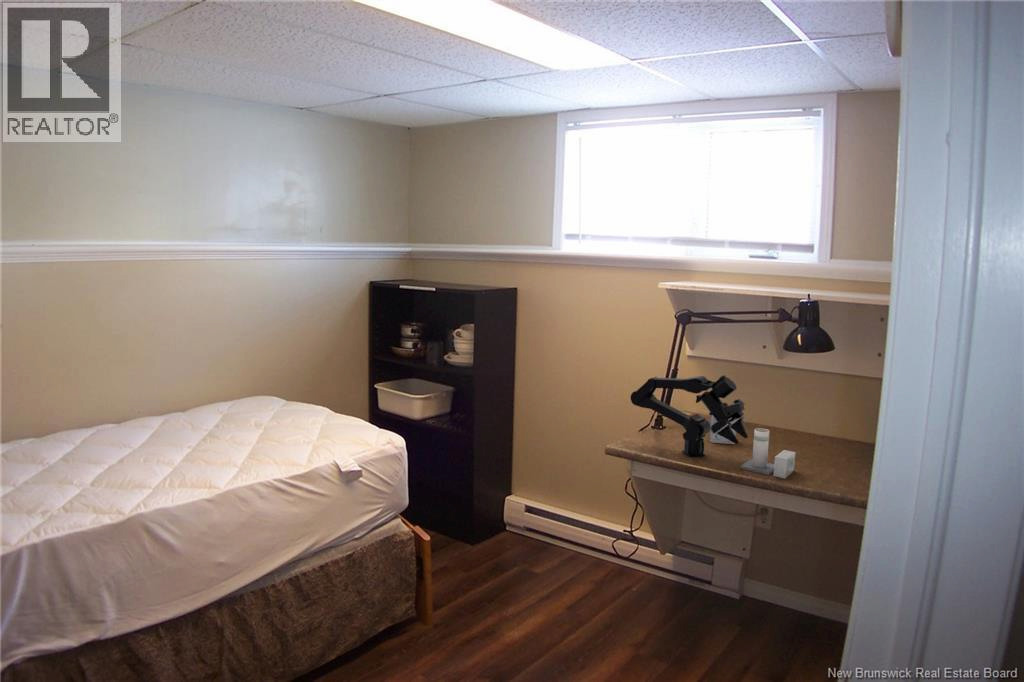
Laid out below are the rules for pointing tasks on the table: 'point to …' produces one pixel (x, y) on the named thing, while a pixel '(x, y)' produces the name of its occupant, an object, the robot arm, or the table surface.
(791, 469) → the block
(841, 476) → the table surface
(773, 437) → the table surface
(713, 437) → the ink cartridge box
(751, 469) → the dock mat
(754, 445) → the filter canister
